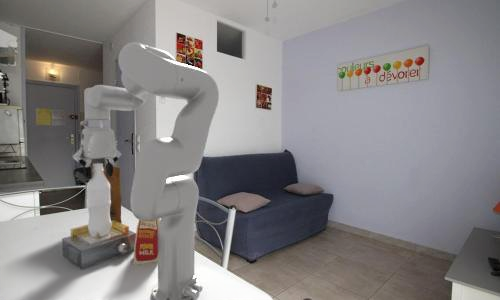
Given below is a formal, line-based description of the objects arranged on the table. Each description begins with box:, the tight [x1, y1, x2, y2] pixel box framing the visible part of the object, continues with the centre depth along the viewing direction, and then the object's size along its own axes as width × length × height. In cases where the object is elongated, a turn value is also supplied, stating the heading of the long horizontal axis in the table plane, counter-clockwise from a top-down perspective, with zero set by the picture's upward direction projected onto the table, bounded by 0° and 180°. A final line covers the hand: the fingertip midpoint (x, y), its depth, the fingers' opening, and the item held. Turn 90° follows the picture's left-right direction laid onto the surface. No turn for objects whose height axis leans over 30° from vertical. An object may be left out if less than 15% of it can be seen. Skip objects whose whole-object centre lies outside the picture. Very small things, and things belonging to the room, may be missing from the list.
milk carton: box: [133, 218, 161, 265], centre depth 90 cm, size 9×9×20 cm
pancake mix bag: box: [90, 164, 123, 224], centre depth 113 cm, size 7×19×28 cm, turn 63°
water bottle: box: [86, 162, 112, 237], centre depth 91 cm, size 7×7×25 cm
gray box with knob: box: [61, 220, 136, 270], centre depth 92 cm, size 18×18×9 cm
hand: (99, 176), depth 91 cm, fingers open, 6 cm apart
